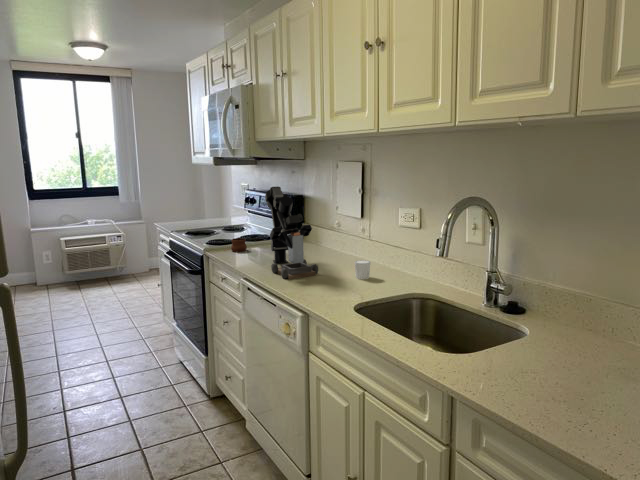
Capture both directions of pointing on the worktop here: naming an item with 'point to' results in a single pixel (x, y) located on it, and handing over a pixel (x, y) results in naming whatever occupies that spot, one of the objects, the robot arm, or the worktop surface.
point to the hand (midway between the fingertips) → (297, 247)
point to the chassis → (295, 270)
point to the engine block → (296, 248)
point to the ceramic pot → (238, 245)
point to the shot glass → (362, 269)
